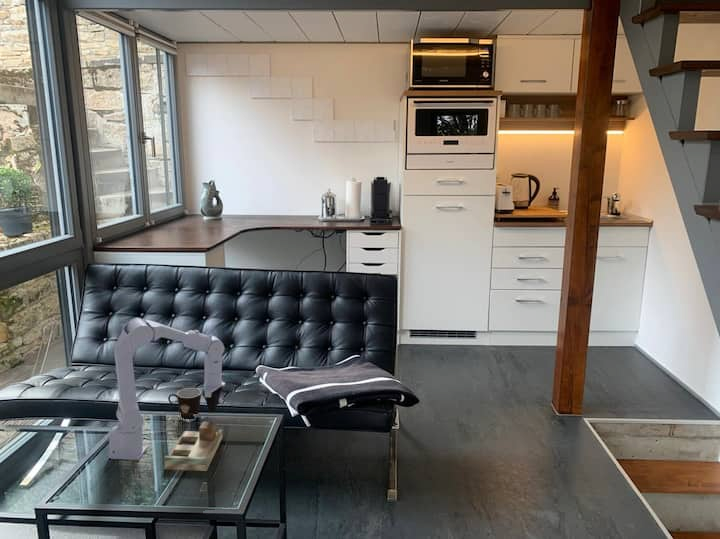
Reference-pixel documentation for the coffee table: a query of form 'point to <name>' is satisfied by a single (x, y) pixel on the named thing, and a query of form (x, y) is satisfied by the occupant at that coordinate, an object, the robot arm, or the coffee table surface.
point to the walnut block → (207, 431)
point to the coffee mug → (188, 402)
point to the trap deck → (192, 452)
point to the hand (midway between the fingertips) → (213, 407)
